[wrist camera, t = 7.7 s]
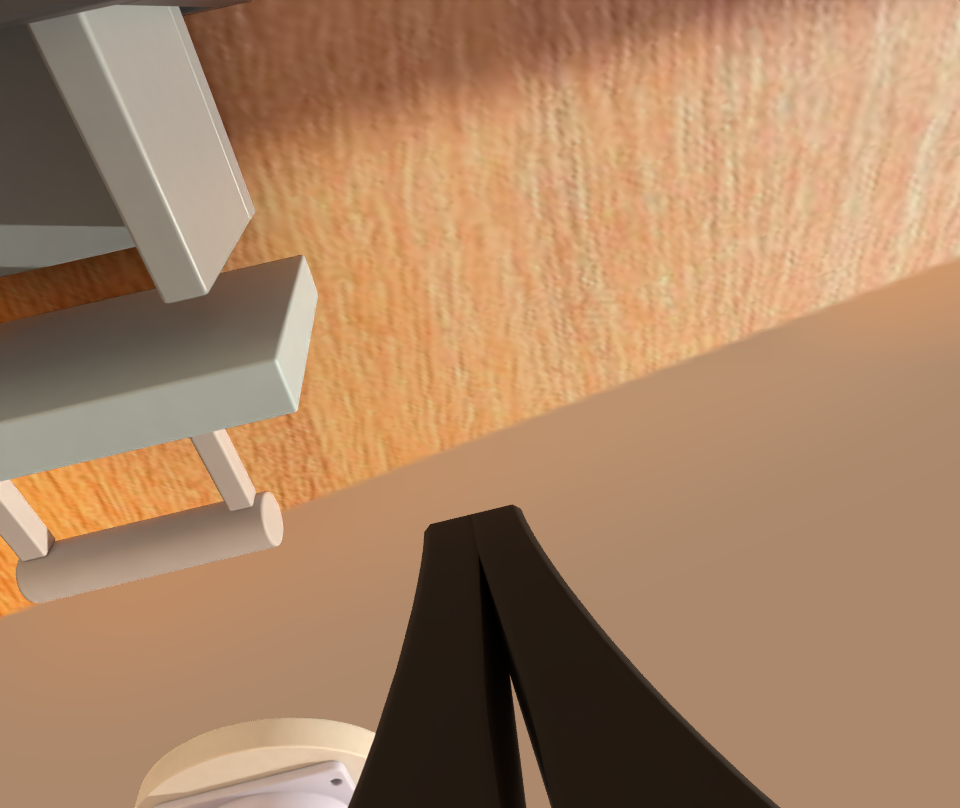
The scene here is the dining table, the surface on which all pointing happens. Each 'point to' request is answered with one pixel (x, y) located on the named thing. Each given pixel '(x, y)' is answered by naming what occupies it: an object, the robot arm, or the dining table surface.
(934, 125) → the dining table surface
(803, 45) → the dining table surface
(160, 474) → the dining table surface
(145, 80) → the tray
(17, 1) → the box
